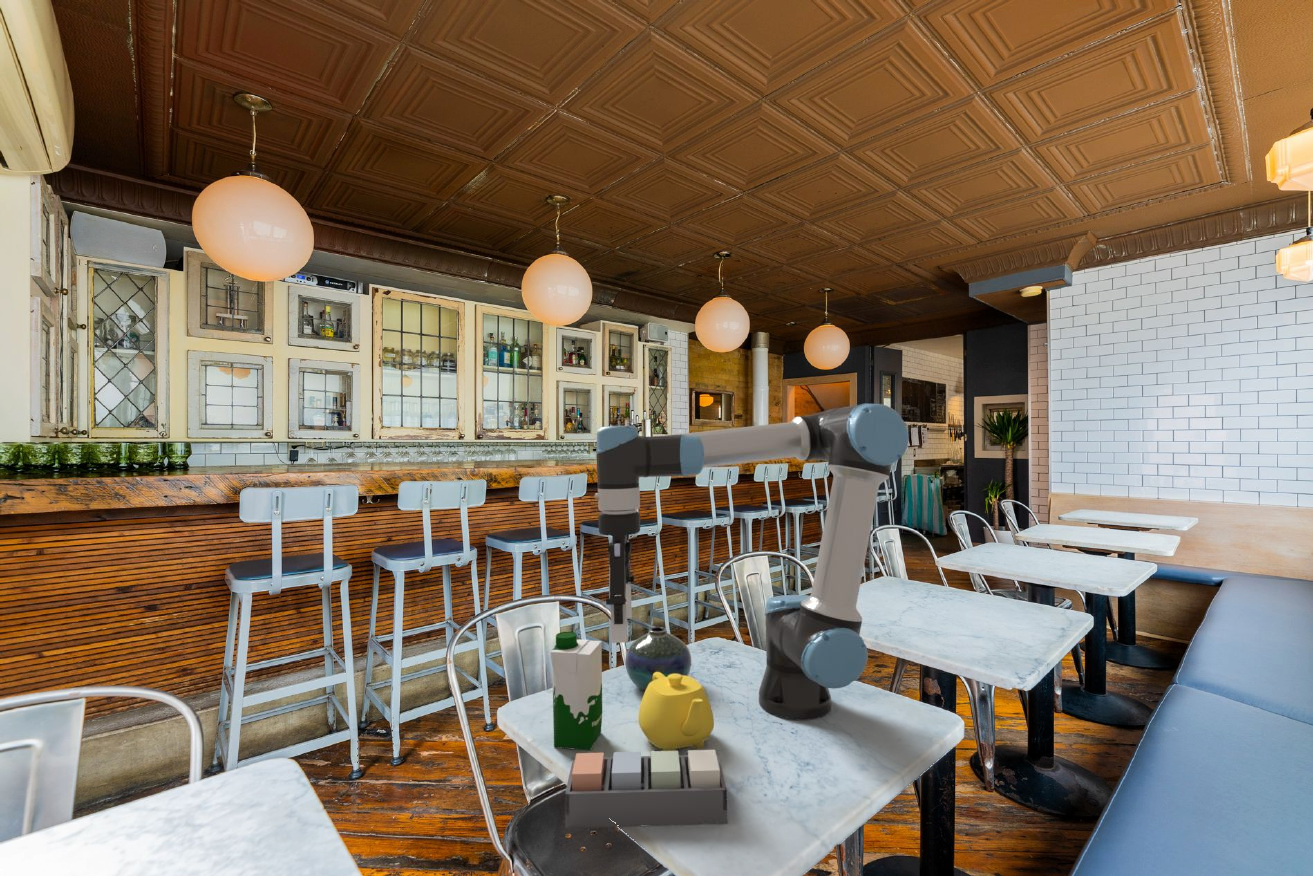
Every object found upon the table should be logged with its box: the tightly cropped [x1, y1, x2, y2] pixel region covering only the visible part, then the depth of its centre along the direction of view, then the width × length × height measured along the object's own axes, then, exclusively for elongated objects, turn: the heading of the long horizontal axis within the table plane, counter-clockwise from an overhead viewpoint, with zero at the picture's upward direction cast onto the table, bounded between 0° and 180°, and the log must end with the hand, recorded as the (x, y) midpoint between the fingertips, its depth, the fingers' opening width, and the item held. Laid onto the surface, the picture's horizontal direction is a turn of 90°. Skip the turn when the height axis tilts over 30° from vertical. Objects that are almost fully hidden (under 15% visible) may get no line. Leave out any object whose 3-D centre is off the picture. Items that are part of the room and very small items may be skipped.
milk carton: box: [549, 631, 603, 751], centre depth 113 cm, size 9×9×20 cm
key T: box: [650, 750, 681, 789], centre depth 92 cm, size 4×6×3 cm
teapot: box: [638, 672, 715, 751], centre depth 111 cm, size 13×20×12 cm
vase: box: [624, 626, 692, 691], centre depth 137 cm, size 15×15×13 cm
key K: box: [612, 751, 642, 791], centre depth 92 cm, size 4×6×3 cm
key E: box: [572, 752, 605, 792], centre depth 92 cm, size 4×6×3 cm
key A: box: [687, 749, 720, 788], centre depth 92 cm, size 4×6×3 cm
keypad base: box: [564, 753, 729, 829], centre depth 92 cm, size 24×10×5 cm, turn 91°
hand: (622, 629), depth 106 cm, fingers open, 13 cm apart
